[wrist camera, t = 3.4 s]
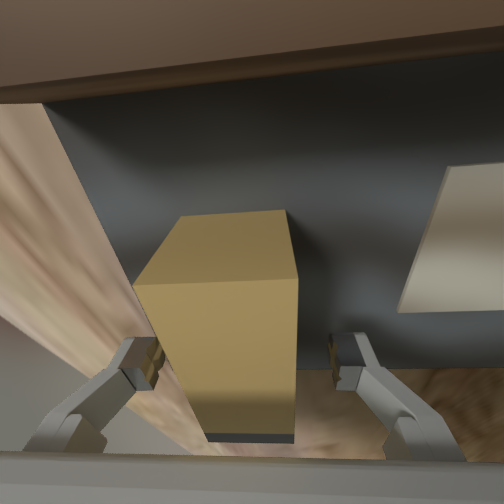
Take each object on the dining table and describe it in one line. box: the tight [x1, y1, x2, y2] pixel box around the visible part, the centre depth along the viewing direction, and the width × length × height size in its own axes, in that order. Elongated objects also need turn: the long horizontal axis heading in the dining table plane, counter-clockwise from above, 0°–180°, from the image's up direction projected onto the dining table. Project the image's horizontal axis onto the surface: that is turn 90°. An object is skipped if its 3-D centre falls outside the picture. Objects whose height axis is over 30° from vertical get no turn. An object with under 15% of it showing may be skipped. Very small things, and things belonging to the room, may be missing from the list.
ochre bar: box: [132, 210, 298, 444], centre depth 11 cm, size 11×4×4 cm, turn 5°
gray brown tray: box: [0, 0, 504, 371], centre depth 9 cm, size 18×30×5 cm, turn 95°
